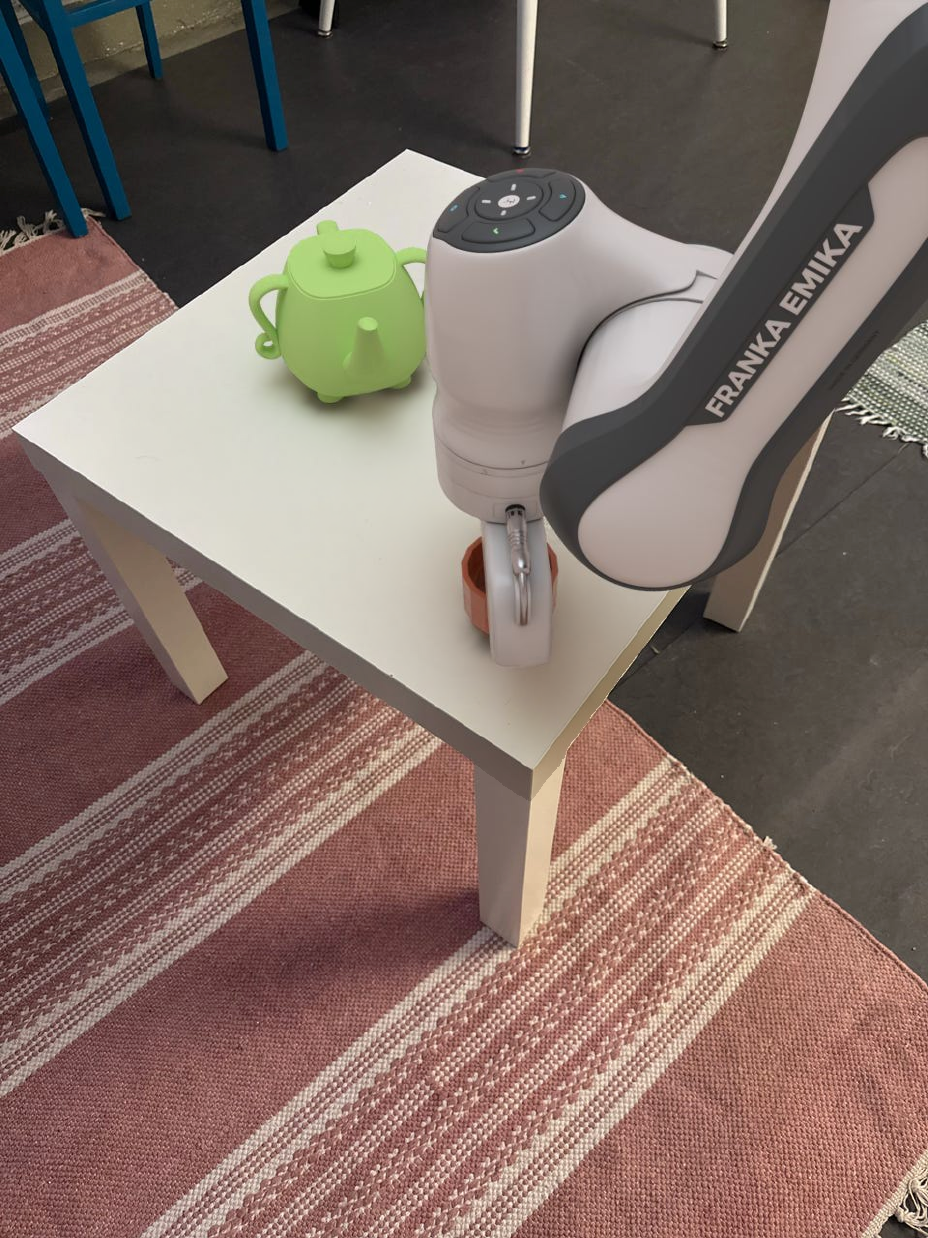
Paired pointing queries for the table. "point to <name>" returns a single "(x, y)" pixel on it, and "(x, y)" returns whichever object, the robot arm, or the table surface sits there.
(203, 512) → the table surface
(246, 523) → the table surface
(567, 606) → the table surface
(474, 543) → the orange cup
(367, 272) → the teapot
